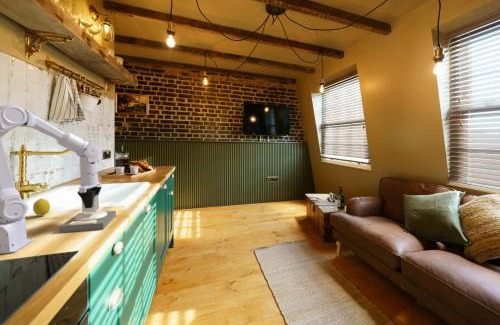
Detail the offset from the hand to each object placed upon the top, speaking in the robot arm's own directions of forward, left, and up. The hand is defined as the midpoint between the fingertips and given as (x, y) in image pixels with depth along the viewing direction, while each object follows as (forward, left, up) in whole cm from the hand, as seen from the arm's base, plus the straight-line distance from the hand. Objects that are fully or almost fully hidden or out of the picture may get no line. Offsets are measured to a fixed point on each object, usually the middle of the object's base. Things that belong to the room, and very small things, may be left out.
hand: (91, 206), depth 94 cm
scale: (-1, 0, -7) cm, 7 cm away
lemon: (+14, +24, -7) cm, 29 cm away
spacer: (0, 0, -2) cm, 2 cm away
